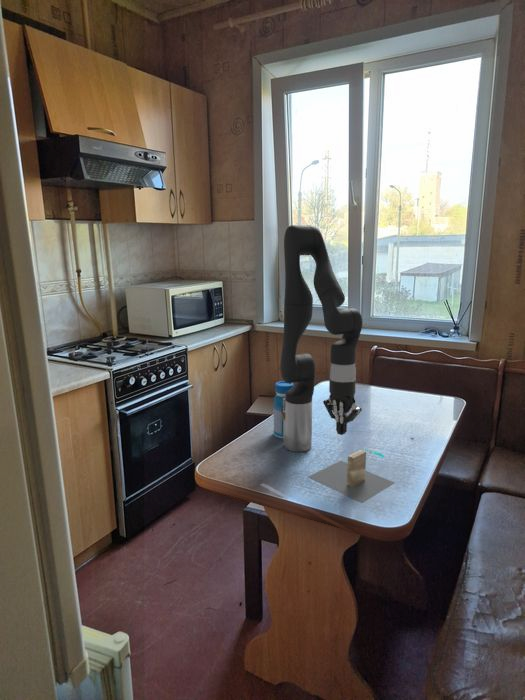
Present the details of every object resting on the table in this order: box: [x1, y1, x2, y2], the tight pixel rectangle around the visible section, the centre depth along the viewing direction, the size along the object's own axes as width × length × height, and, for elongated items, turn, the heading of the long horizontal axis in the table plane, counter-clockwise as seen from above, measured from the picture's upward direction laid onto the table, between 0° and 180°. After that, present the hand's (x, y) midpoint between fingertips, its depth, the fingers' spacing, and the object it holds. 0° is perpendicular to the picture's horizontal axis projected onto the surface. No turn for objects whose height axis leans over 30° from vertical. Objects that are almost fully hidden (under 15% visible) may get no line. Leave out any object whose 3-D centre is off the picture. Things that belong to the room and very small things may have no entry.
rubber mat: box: [307, 460, 395, 504], centre depth 139 cm, size 20×16×1 cm
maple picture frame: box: [347, 449, 367, 487], centre depth 137 cm, size 2×6×9 cm, turn 132°
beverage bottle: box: [272, 380, 295, 439], centre depth 173 cm, size 8×8×20 cm
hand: (341, 433), depth 139 cm, fingers closed
